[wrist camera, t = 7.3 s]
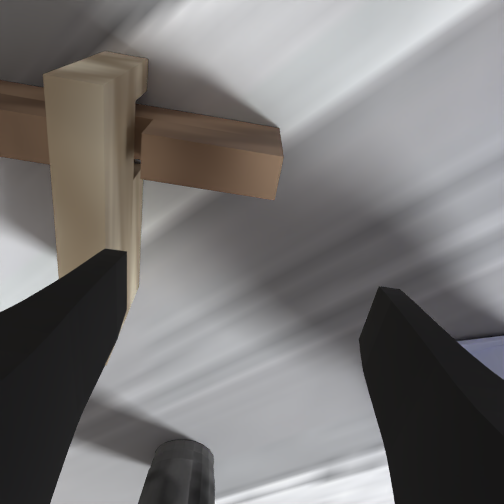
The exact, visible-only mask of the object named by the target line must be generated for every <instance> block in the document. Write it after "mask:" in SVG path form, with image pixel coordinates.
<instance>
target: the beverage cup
mask: <svg viewBox="0 0 504 504" xmlns="http://www.w3.org/2000/svg"><path fill="white" fill-rule="evenodd" d="M213 465H214V458H213V454H212V453H211V451H210V450H209V449H208V448H206V447H205V446H204V445H202V444H199V443H197V442H194V441H189V440H174V441H169V442H166V443H164V444H163V445H161V446H160V447H159V448H158V449H157V450H156V453H155V457H154V459H153V462H152V465H151V468H150V469H149V471H148V474H147V477H146V480H145V484H144V487H143V490H142V493H141V496H140V499H139V502H138V504H215V479H214V468H213Z"/></svg>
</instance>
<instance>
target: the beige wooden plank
mask: <svg viewBox="0 0 504 504" xmlns="http://www.w3.org/2000/svg"><path fill="white" fill-rule="evenodd" d="M147 77H148V59H145V58H140V57H135V56H129V55H124V54H118V53H113V52H108V51H104V52H101V53H98V54H96V55H93V56H90V57H88V58H85V59H82V60H80V61H77V62H74V63H72V64H69V65H66V66H64V67H61V68H58V69H56V70H53V71H50V72H47V73H45V74H43V82H44V95H45V108H46V121H47V133H48V146H49V159H50V172H51V184H52V197H53V210H54V223H55V236H56V248H57V261H58V274H59V279H60V278H62V277H63V276H65V275H66V274H68V273H69V272H71V271H72V270H74V269H75V268H77V267H78V266H80V265H81V264H83V263H84V262H85V261H87V260H88V259H90V258H91V257H93V256H94V255H96V254H97V253H99V252H100V251H102V250H103V249H105V248H106V249H113V250H121V251H127V311H126V314H125V317H124V320H123V323H122V326H123V324H124V321H125V319H126V316H127V314H128V312H129V309H130V307H131V304H132V302H133V299H134V297H135V294H136V292H137V290H138V287H139V270H140V245H141V221H142V197H143V179H140V169H141V164H138V163H134V138H135V103H136V100H137V99H138V98H139V97H141V96H142V95H143V94H144V93H145V92H146V91H147ZM121 329H122V327H121ZM120 331H121V330H120ZM114 346H115V345H114ZM113 348H114V347H113ZM111 353H112V352H111ZM110 355H111V354H110ZM109 358H110V356H109ZM109 358H108V360H109ZM108 360H107V362H106V364H105V365H107V363H108Z"/></svg>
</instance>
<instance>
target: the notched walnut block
mask: <svg viewBox="0 0 504 504" xmlns="http://www.w3.org/2000/svg"><path fill="white" fill-rule="evenodd" d="M0 157H6V158H12V159H18V160H24V161H31V162H37V163H43V164H50V159H49V146H48V133H47V121H46V108H45V95H44V88H43V87H37V86H31V85H26V84H20V83H14V82H8V81H2V80H0ZM283 158H284V156H283V149H282V143H281V136H280V129H279V128H276V127H270V126H264V125H258V124H252V123H247V122H241V121H235V120H229V119H223V118H218V117H212V116H206V115H200V114H194V113H188V112H183V111H177V110H171V109H165V108H159V107H154V106H148V105H142V104H136V103H135V138H134V159H139V160H141V169H140V179H144V180H150V181H156V182H163V183H169V184H175V185H182V186H188V187H194V188H200V189H207V190H213V191H219V192H225V193H232V194H238V195H244V196H251V197H257V198H263V199H269V200H275V196H276V191H277V186H278V181H279V177H280V172H281V167H282V162H283Z"/></svg>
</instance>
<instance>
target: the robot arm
mask: <svg viewBox="0 0 504 504" xmlns="http://www.w3.org/2000/svg"><path fill="white" fill-rule="evenodd" d="M126 311H127V251H121V250H113V249H106V248H105V249H103V250H102V251H100V252H99V253H97V254H96V255H94V256H93V257H91V258H90V259H88V260H87V261H85V262H84V263H83V264H81V265H80V266H78V267H77V268H75V269H74V270H72V271H71V272H69V273H68V274H66V275H65V276H63V277H62V278H60V279H58V280H57V281H55V282H54V283H52V284H50V285H49V286H47V287H45V288H44V289H42V290H40V291H39V292H37V293H35V294H33V295H32V296H30V297H28V298H27V299H25V300H23V301H21V302H19V303H18V304H16V305H14V306H12V307H10V308H8V309H6V310H4V311H2V312H0V504H50V502H51V499H52V496H53V493H54V490H55V487H56V484H57V481H58V478H59V475H60V472H61V470H62V467H63V464H64V461H65V458H66V455H67V452H68V449H69V447H70V444H71V441H72V438H73V436H74V433H75V430H76V427H77V424H78V422H79V420H80V417H81V415H82V413H83V410H84V408H85V406H86V404H87V402H88V399H89V397H90V395H91V393H92V391H93V389H94V387H95V385H96V383H97V381H98V379H99V377H100V375H101V373H102V370H103V368H104V366H105V364H106V362H107V360H108V358H109V356H110V354H111V352H112V350H113V347H114V345H115V343H116V341H117V339H118V336H119V333H120V330H121V327H122V323H123V320H124V317H125V314H126ZM359 344H360V353H361V360H362V367H363V372H364V376H365V380H366V383H367V387H368V390H369V394H370V398H371V401H372V404H373V408H374V411H375V415H376V418H377V422H378V425H379V429H380V432H381V436H382V439H383V443H384V447H385V451H386V455H387V460H388V466H389V471H390V477H391V483H392V488H393V494H394V501H395V504H504V336H496V337H488V338H480V339H472V340H464V341H456V340H454V339H453V338H452V337H451V336H450V335H449V334H448V333H447V332H446V331H445V330H443V329H442V328H441V327H440V326H439V325H438V324H437V323H436V322H435V321H434V320H433V319H432V318H431V317H430V316H429V315H427V314H426V313H425V312H424V311H423V310H422V309H421V308H420V307H419V306H418V305H417V304H416V303H415V302H414V301H413V300H411V299H410V298H409V297H408V296H407V295H406V294H405V293H403V292H402V291H401V290H400V289H393V288H386V287H379V288H378V290H377V293H376V296H375V298H374V301H373V304H372V306H371V309H370V312H369V314H368V317H367V319H366V322H365V325H364V327H363V330H362V333H361V335H360V338H359Z"/></svg>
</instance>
